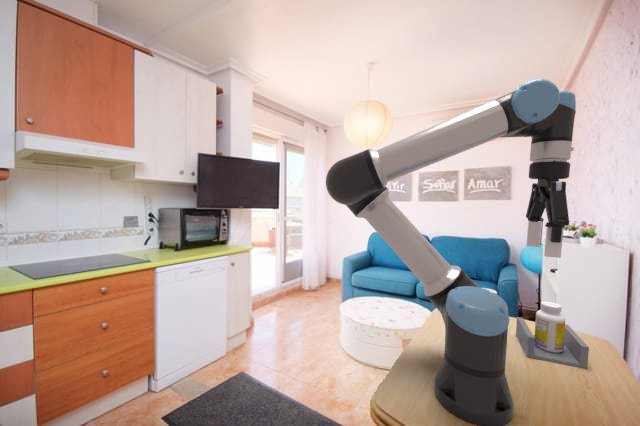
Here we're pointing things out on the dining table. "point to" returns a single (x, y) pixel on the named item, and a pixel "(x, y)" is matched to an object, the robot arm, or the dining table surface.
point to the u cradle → (571, 354)
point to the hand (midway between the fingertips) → (541, 251)
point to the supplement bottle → (550, 327)
